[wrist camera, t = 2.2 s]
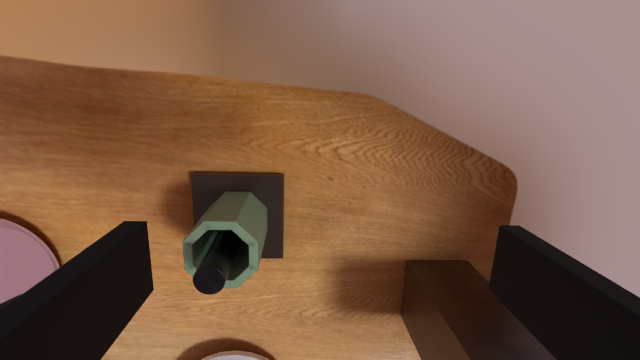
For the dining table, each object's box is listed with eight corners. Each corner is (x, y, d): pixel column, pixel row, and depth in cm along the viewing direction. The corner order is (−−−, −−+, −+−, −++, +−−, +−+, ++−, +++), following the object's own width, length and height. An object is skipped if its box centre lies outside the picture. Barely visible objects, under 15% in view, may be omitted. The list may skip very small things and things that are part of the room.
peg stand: (284, 173, 38) (275, 219, 24) (283, 252, 41) (275, 336, 27) (195, 171, 37) (133, 217, 23) (199, 252, 40) (146, 338, 26)
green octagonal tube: (267, 191, 37) (257, 221, 28) (267, 244, 39) (258, 288, 30) (208, 190, 36) (180, 221, 28) (211, 244, 38) (185, 288, 29)
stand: (467, 260, 42) (603, 394, 24) (458, 314, 44) (577, 477, 25) (406, 260, 42) (495, 397, 23) (400, 314, 44) (478, 482, 25)
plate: (21, 340, 41) (8, 352, 39) (-86, 264, 38) (-106, 273, 36) (99, 270, 40) (89, 279, 38) (-6, 184, 36) (-23, 189, 34)
